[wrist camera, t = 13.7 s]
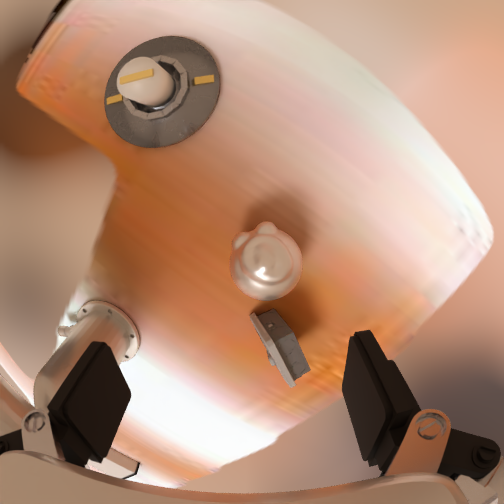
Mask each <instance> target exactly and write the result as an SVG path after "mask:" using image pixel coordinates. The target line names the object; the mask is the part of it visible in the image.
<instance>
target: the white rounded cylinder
mask: <svg viewBox="0 0 504 504" xmlns="http://www.w3.org/2000/svg"><path fill="white" fill-rule="evenodd" d="M117 88H118V91H119V92H120V94H121V95H123V96H124V97H126V98H129V99H131V100H134V101H136V102H139V103H141V104H144V105H146V106H149V107H153V108H157V107H162V106H164V105H166V104H167V103H169V102H170V101H171V100H172V98H173V97H174V95H175V92H176V81H175V79H174V78H173V77H172V76H171V75H170V74H169V73H168V72H167V71H165V70H164V69H163V68H162V67H161V66H160V65H159V64H157V63H156V62H155V61H154V60H153V59H151V58H148V57H138V58H134V59H132V60H131V61H129V62H128V63H126V64H125V65H124V66H123V68H122V69H121V70H120V72H119V74H118V77H117Z"/></svg>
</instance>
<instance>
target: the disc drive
mask: <svg viewBox="0 0 504 504" xmlns="http://www.w3.org/2000/svg"><path fill="white" fill-rule="evenodd" d="M88 464H89V465H90V466H92V467H94V468H96V469H97V470H99V471H101V472H103V473H105V474H107V475H109V476H113V477H117V478H121V479H127V478H129V477H131V476H134V475H136V474H137V472H138V468H139V465H140V463H139V462H136V461H134V460H132V459H130V458H128V457H126V456H124V455H122V454H120V453H119V452H117V451H115V450H113V449H111V448H110V450H109V453H108V455H107V457H106V458H103V461H102V464H101V463H97V462H94V461H91V460H90V459H89V460H88Z"/></svg>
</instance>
